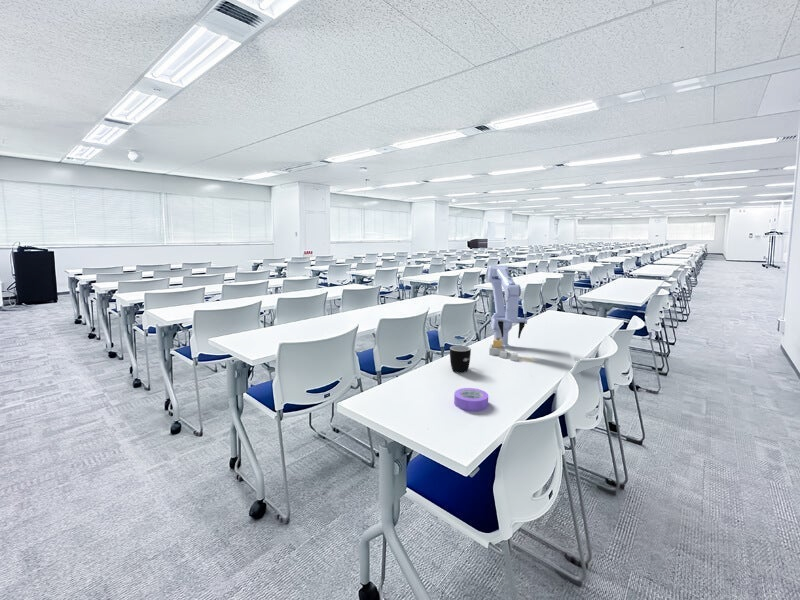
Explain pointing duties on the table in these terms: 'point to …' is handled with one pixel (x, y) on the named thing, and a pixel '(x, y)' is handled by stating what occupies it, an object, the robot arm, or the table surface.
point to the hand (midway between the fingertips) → (510, 337)
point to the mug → (460, 358)
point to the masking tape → (471, 399)
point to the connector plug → (497, 343)
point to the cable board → (503, 354)
